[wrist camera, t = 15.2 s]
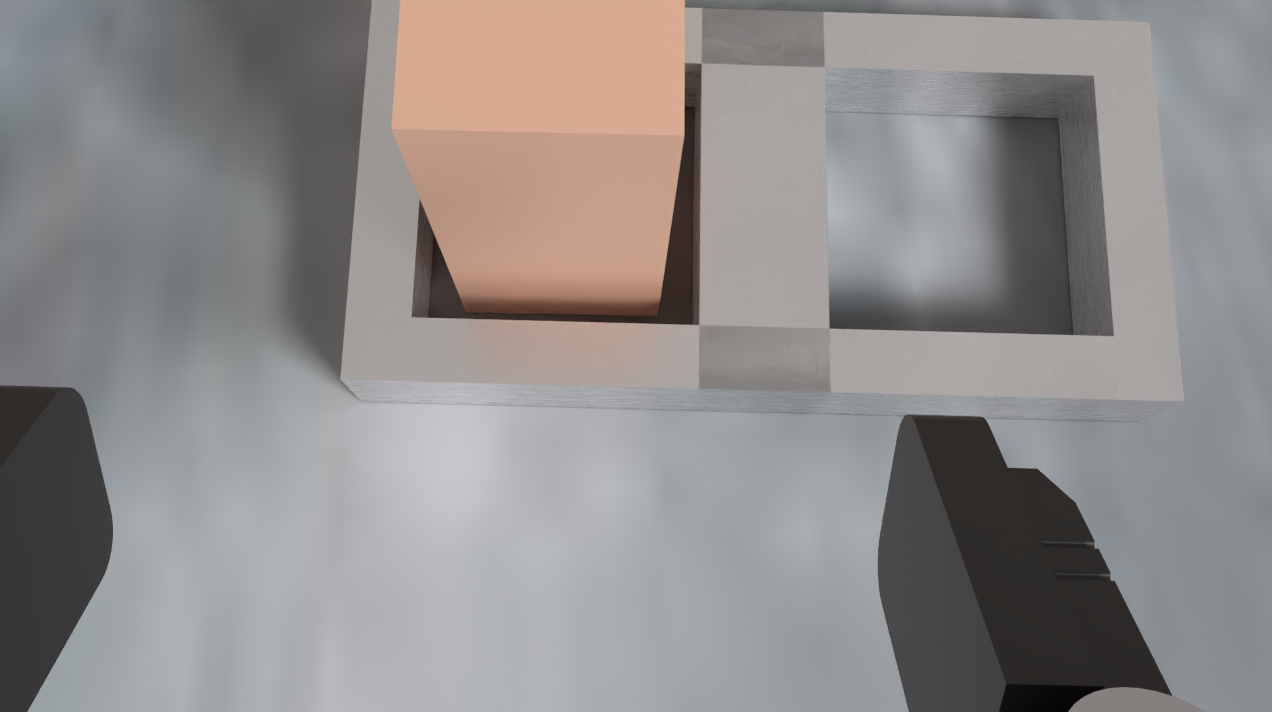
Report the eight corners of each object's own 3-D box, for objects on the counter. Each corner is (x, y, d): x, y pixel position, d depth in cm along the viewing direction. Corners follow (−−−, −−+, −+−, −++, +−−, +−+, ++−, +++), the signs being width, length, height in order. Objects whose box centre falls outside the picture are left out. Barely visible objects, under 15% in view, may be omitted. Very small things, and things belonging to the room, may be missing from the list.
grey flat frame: (1110, 68, 27) (1149, 21, 25) (1139, 421, 25) (1184, 401, 23) (389, 45, 27) (371, -3, 25) (361, 401, 25) (340, 379, 23)
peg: (474, 134, 26) (408, -127, 17) (659, 139, 26) (685, -120, 18) (466, 312, 25) (391, 128, 16) (657, 315, 25) (684, 135, 17)
